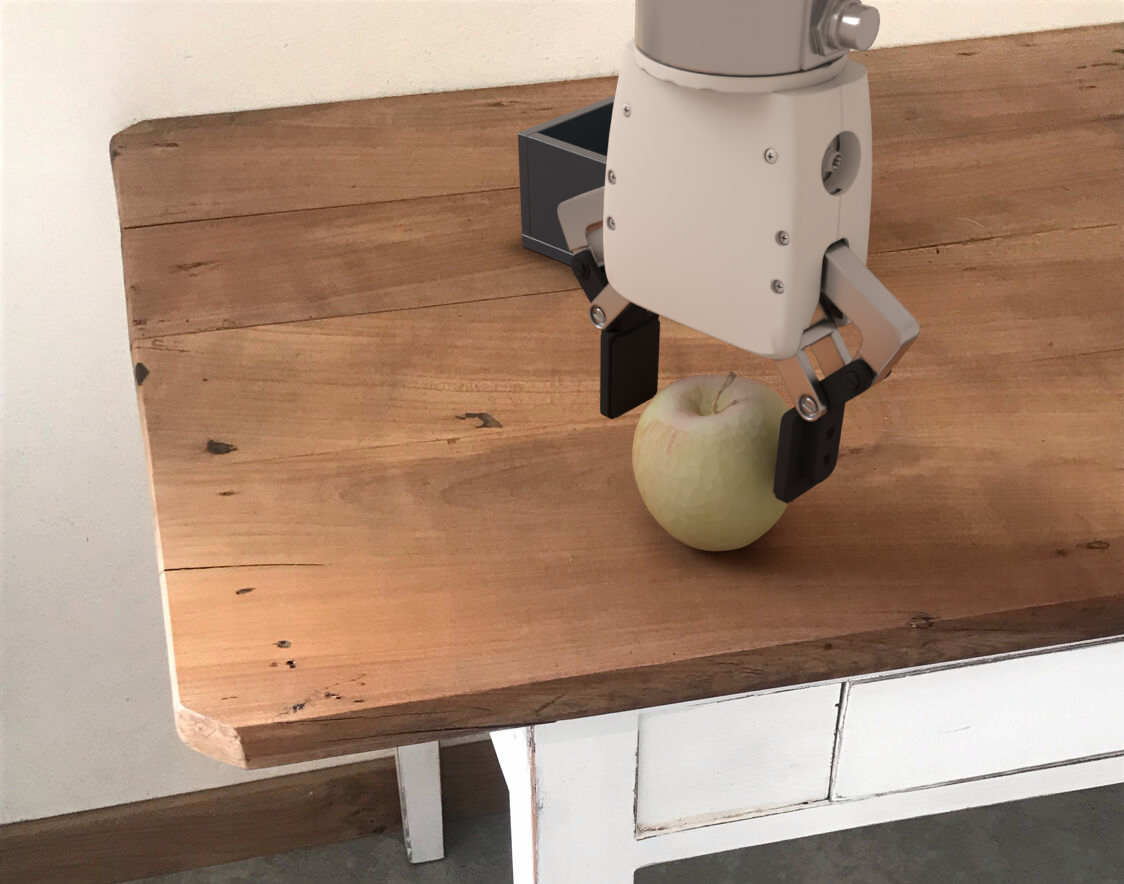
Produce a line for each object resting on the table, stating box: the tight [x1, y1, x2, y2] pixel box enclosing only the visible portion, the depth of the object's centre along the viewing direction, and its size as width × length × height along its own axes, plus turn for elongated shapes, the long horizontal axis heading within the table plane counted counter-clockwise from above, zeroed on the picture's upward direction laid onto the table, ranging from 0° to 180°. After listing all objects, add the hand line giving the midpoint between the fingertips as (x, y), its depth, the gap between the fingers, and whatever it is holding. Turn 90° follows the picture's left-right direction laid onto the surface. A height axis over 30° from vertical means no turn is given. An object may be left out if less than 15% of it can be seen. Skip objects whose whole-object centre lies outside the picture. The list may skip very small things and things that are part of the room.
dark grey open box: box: [517, 94, 615, 267], centre depth 82 cm, size 14×14×7 cm
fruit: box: [631, 370, 791, 552], centre depth 60 cm, size 8×7×8 cm
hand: (711, 445), depth 60 cm, fingers open, 9 cm apart
